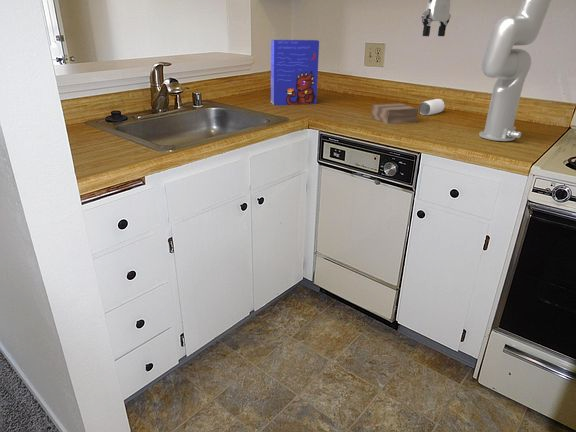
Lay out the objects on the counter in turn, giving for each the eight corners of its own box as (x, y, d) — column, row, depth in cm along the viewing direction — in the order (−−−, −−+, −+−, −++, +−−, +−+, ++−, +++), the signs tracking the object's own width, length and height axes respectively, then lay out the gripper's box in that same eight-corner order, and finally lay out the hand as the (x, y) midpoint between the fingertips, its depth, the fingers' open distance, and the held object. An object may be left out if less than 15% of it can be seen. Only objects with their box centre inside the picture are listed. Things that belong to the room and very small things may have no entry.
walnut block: (416, 123, 184) (418, 108, 182) (387, 124, 180) (389, 110, 178) (398, 116, 196) (400, 103, 194) (371, 118, 192) (372, 104, 190)
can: (447, 101, 200) (432, 104, 193) (442, 114, 204) (427, 118, 196) (435, 96, 204) (420, 99, 196) (430, 109, 207) (416, 112, 200)
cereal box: (312, 103, 222) (315, 39, 209) (316, 105, 216) (319, 40, 204) (270, 104, 216) (271, 39, 204) (273, 106, 211) (274, 39, 199)
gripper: (433, -10, 173) (426, 36, 180) (461, -8, 181) (453, 36, 188) (418, -10, 178) (412, 35, 185) (446, -8, 187) (439, 35, 194)
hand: (433, 36), depth 187 cm, fingers open, 9 cm apart
